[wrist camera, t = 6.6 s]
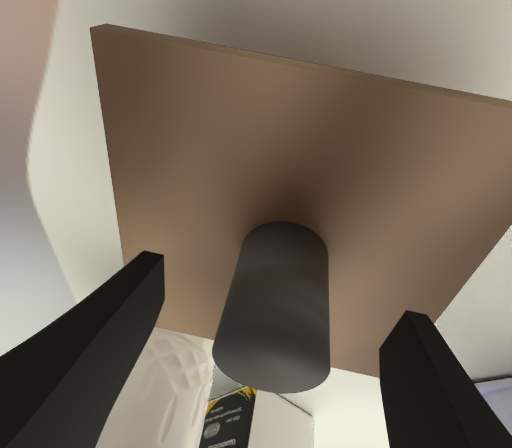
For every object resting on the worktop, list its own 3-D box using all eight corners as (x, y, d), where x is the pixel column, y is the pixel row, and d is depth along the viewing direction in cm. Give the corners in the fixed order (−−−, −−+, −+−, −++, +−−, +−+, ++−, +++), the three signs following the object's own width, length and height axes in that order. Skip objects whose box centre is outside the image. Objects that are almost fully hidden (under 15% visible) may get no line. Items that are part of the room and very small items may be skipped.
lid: (570, 112, 8) (776, 229, 5) (386, 363, 16) (406, 488, 12) (106, 23, 9) (-58, 62, 5) (139, 308, 16) (83, 411, 12)
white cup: (122, 341, 27) (39, 495, 19) (126, 279, 22) (17, 450, 14) (216, 370, 27) (172, 533, 19) (240, 315, 22) (195, 501, 15)
